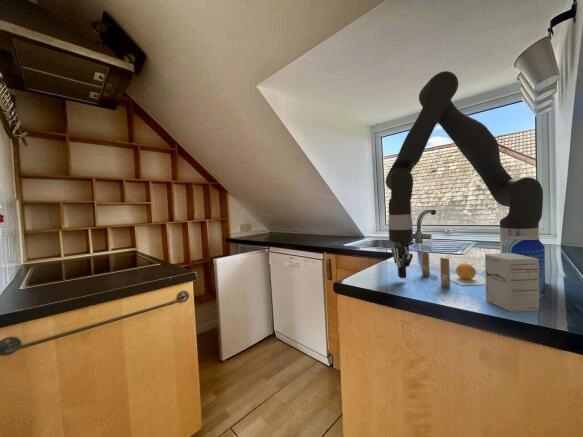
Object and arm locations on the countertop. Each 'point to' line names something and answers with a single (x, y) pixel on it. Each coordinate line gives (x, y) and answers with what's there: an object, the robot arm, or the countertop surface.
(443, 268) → the near post
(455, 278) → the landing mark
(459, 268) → the ball
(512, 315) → the countertop surface
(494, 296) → the supplement box
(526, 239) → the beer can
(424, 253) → the far post
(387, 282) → the countertop surface
